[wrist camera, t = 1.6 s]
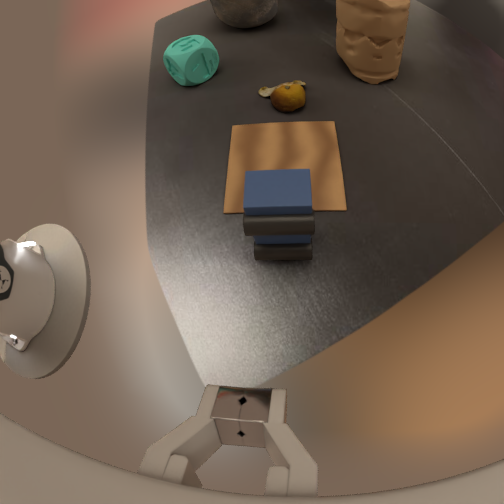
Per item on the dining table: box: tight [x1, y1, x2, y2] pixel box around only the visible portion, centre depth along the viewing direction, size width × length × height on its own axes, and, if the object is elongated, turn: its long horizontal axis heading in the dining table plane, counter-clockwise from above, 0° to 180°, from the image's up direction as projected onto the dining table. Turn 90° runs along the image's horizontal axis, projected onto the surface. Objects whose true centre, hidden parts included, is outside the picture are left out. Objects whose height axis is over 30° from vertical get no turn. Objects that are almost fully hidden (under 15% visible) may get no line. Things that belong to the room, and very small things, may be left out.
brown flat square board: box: [224, 121, 347, 214], centre depth 42 cm, size 16×16×1 cm
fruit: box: [259, 81, 306, 113], centre depth 46 cm, size 8×8×4 cm
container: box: [336, 0, 410, 84], centre depth 40 cm, size 13×13×18 cm
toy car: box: [243, 169, 315, 260], centre depth 32 cm, size 6×6×12 cm
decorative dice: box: [163, 35, 219, 86], centre depth 50 cm, size 8×8×8 cm
